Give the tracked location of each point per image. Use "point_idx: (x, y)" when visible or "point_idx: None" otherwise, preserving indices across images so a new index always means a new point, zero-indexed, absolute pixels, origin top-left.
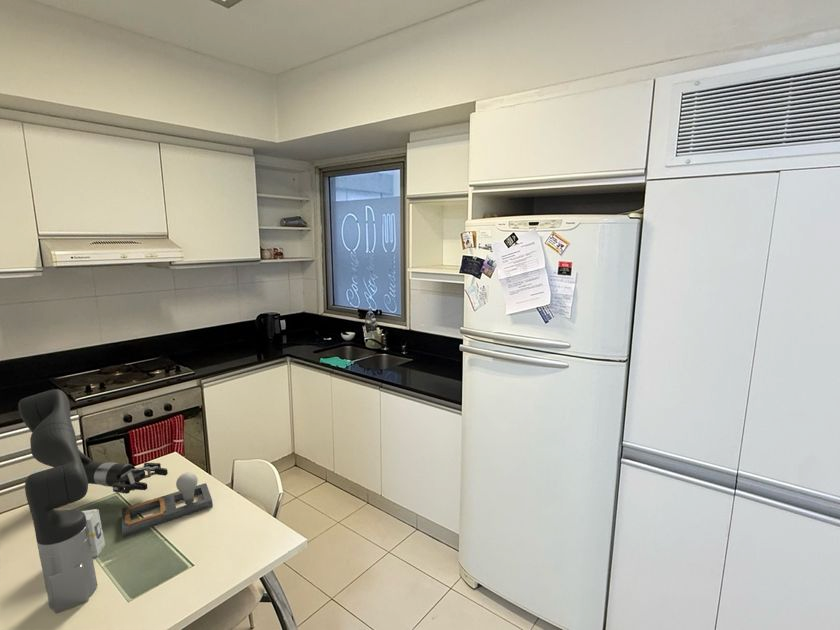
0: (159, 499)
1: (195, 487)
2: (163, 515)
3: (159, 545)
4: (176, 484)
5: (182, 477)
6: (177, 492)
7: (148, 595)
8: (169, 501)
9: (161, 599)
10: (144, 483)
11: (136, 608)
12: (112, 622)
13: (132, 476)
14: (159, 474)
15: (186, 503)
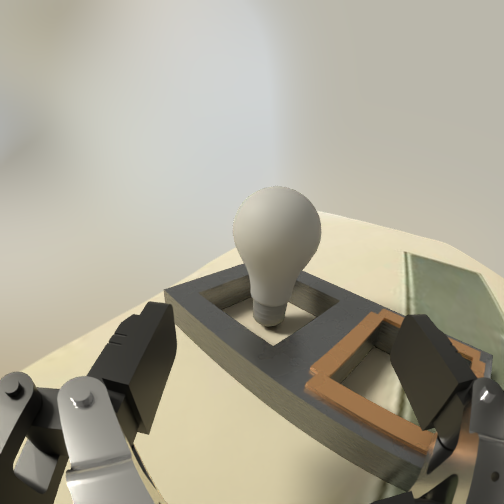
0: (328, 375)
1: (196, 305)
2: (386, 309)
3: (425, 298)
4: (316, 234)
5: (303, 195)
6: (241, 345)
7: (461, 265)
8: (317, 338)
9: (451, 256)
10: (423, 315)
11: (474, 265)
12: (493, 271)
13: (476, 488)
14: (156, 402)
15: (284, 313)
